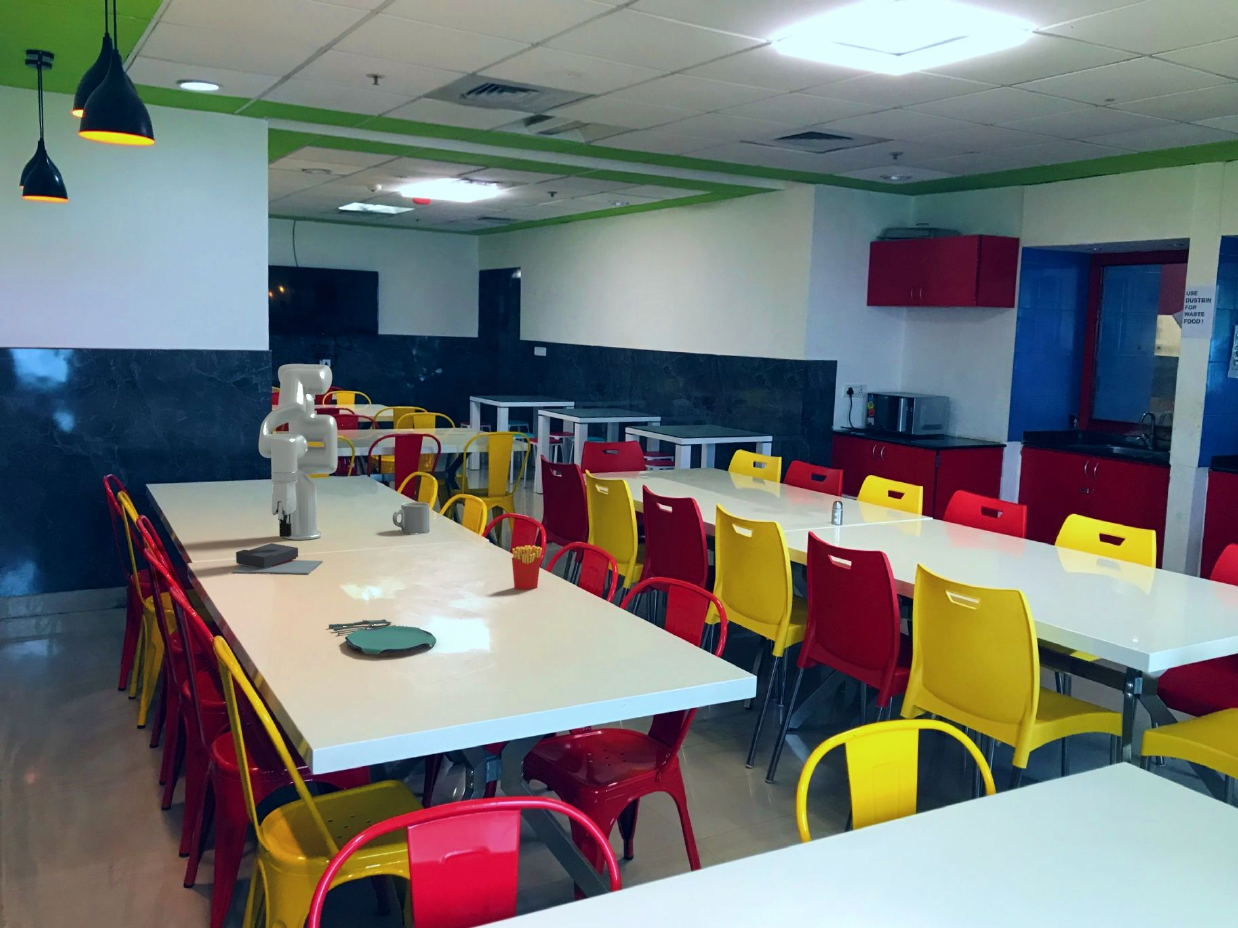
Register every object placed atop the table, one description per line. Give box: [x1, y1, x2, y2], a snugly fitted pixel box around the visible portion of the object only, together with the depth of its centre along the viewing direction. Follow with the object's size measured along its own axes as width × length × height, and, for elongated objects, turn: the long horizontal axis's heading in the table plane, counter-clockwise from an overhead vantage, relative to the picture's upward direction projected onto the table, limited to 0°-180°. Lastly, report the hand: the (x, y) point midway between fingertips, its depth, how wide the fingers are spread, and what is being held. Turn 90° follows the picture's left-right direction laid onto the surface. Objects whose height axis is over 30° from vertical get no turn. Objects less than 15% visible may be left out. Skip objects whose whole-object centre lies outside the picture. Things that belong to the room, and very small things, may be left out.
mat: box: [232, 559, 323, 575], centre depth 305 cm, size 16×22×1 cm
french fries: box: [511, 544, 543, 591], centre depth 288 cm, size 8×4×12 cm, turn 111°
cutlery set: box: [328, 618, 437, 655], centre depth 238 cm, size 20×30×2 cm, turn 34°
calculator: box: [235, 543, 299, 569], centre depth 309 cm, size 11×4×15 cm
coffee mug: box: [392, 501, 430, 534], centre depth 364 cm, size 13×10×10 cm
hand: (285, 536), depth 311 cm, fingers closed
